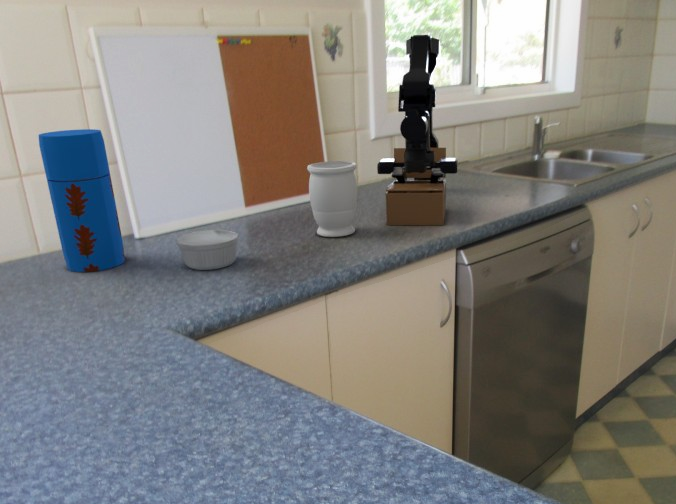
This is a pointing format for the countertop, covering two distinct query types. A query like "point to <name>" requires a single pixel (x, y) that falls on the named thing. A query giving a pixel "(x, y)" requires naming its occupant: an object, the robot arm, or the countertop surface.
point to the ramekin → (208, 249)
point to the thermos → (82, 199)
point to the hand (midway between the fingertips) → (418, 202)
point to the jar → (333, 197)
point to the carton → (416, 203)
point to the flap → (438, 154)
